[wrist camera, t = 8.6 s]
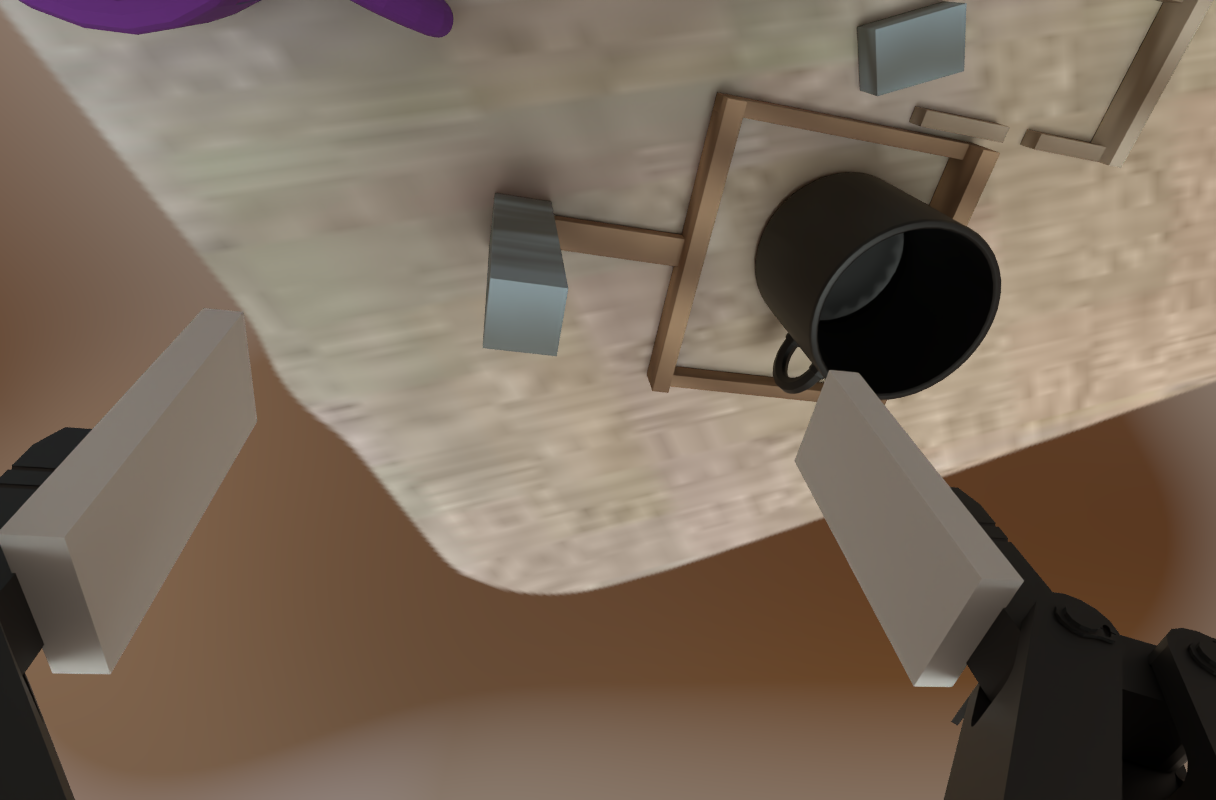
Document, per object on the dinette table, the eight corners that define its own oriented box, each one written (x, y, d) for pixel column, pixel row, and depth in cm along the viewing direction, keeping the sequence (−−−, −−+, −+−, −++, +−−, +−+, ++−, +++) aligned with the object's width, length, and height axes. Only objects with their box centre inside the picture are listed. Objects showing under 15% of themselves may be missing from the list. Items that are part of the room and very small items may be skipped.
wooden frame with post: (510, 50, 33) (511, 86, 23) (972, 143, 38) (1141, 204, 28) (477, 356, 41) (468, 481, 31) (861, 397, 46) (960, 516, 36)
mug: (694, 312, 42) (737, 389, 34) (828, 136, 37) (912, 178, 29) (806, 380, 45) (867, 463, 38) (941, 226, 41) (1042, 285, 33)
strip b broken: (896, -91, 32) (917, -95, 30) (1185, -13, 35) (1219, -12, 34) (831, 106, 36) (847, 112, 34) (1094, 159, 40) (1121, 167, 38)
